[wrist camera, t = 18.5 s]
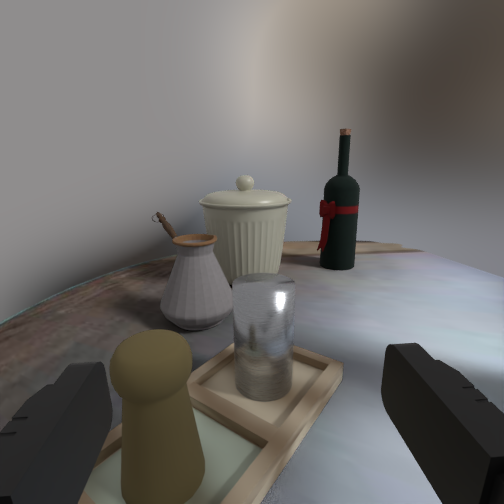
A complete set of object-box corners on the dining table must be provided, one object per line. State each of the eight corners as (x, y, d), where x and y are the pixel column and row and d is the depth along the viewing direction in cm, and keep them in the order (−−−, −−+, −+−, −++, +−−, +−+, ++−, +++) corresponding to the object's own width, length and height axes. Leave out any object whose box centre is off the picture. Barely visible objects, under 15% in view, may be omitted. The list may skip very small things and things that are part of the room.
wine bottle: (305, 265, 74) (311, 129, 66) (334, 258, 80) (342, 131, 72) (332, 274, 68) (341, 125, 60) (361, 265, 74) (373, 128, 66)
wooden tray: (251, 344, 42) (251, 330, 41) (342, 380, 35) (343, 363, 34) (49, 502, 23) (43, 478, 22) (161, 651, 16) (158, 622, 15)
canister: (307, 282, 64) (312, 175, 58) (227, 303, 55) (223, 178, 49) (259, 260, 79) (259, 173, 73) (190, 273, 70) (183, 175, 64)
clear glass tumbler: (256, 357, 37) (255, 269, 34) (302, 376, 34) (306, 280, 31) (223, 385, 32) (219, 286, 30) (272, 411, 29) (273, 301, 26)
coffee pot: (250, 321, 48) (249, 225, 44) (179, 347, 42) (170, 236, 38) (190, 281, 65) (185, 208, 61) (133, 295, 58) (123, 214, 54)
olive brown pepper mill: (104, 515, 21) (78, 369, 18) (138, 437, 26) (122, 318, 23) (197, 516, 20) (186, 369, 17) (210, 438, 26) (204, 318, 23)
